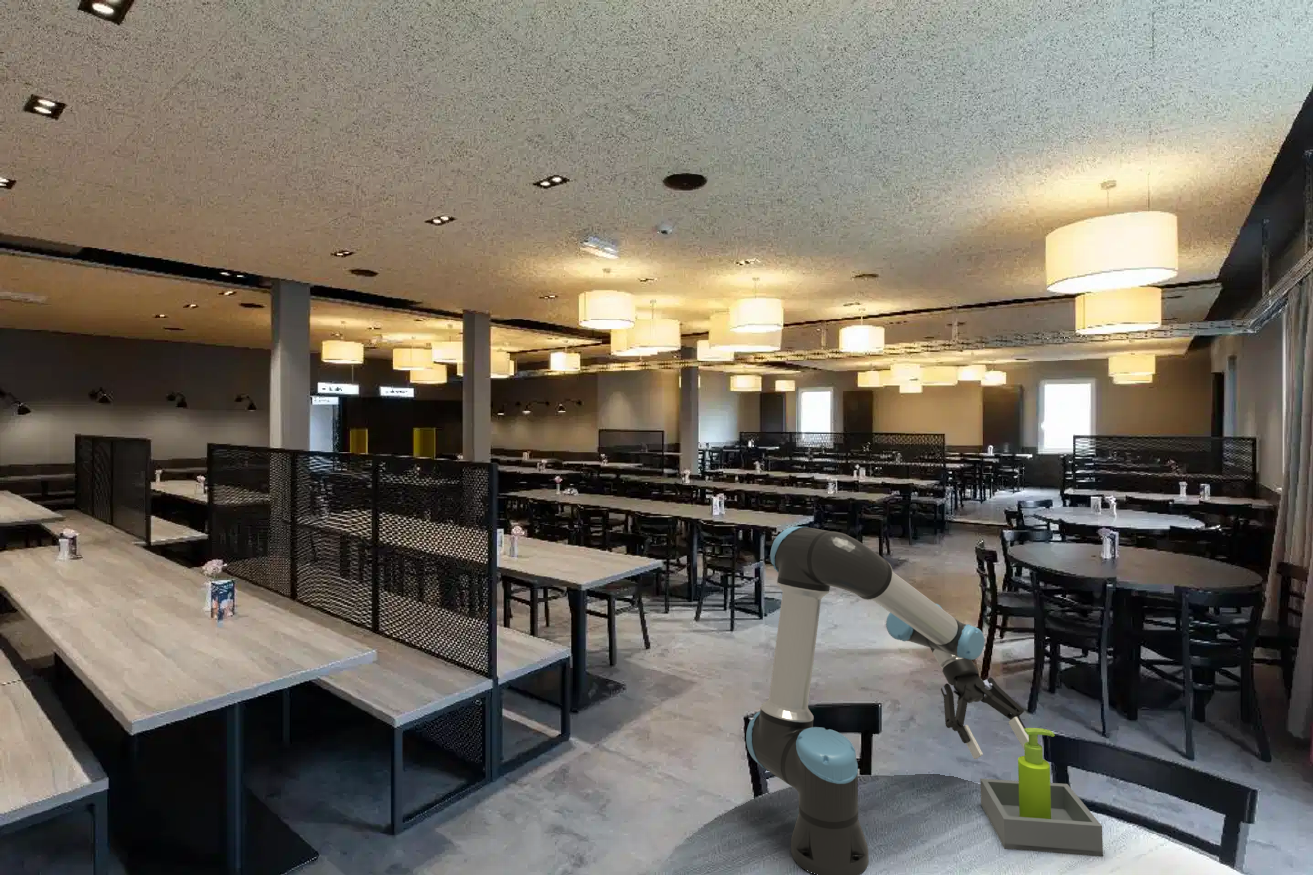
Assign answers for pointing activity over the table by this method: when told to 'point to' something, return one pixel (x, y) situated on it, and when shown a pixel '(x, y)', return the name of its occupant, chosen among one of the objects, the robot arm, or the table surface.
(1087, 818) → the crate
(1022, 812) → the soap dispenser
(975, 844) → the table surface
